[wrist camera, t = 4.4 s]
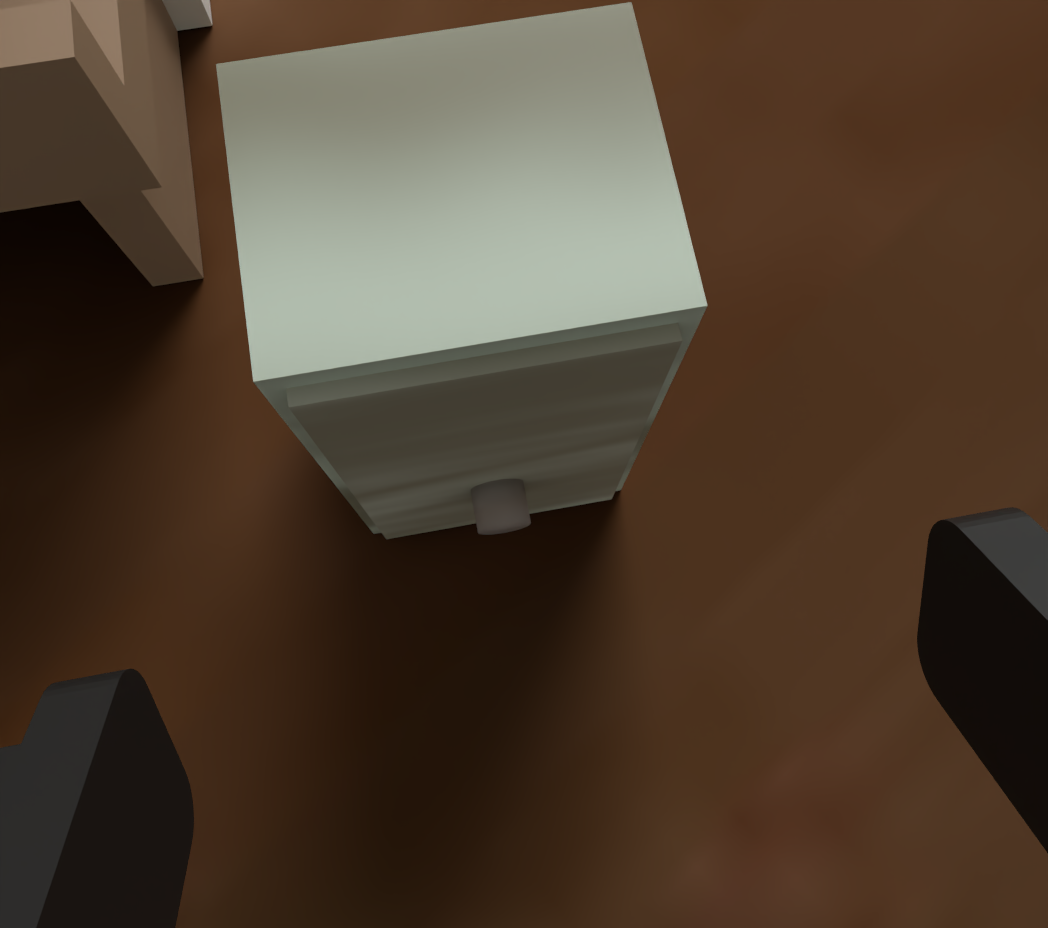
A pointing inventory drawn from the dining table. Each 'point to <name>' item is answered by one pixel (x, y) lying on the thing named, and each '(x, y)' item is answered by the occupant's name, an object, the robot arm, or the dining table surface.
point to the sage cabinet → (462, 263)
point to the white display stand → (103, 121)
